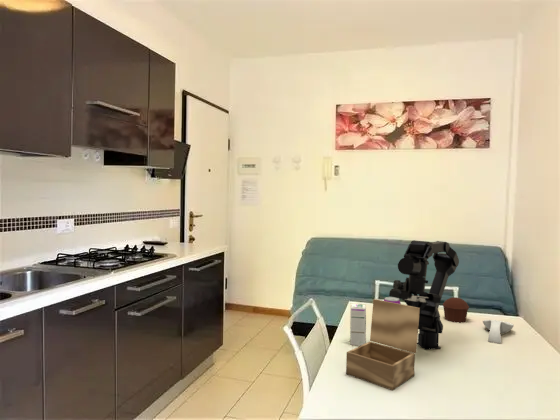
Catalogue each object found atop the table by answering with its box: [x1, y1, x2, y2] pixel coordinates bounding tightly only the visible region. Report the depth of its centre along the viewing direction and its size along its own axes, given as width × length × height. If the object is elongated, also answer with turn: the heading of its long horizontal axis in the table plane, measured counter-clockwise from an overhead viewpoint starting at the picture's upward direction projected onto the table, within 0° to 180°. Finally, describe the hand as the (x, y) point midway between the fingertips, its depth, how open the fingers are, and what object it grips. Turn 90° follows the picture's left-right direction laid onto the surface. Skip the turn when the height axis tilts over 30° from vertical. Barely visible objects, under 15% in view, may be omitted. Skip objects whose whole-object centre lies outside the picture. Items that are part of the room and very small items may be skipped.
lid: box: [369, 298, 420, 354], centre depth 141 cm, size 14×16×1 cm
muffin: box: [442, 297, 470, 324], centre depth 198 cm, size 12×11×10 cm
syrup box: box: [349, 303, 367, 347], centre depth 164 cm, size 6×6×14 cm
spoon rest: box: [482, 319, 514, 344], centre depth 177 cm, size 24×12×7 cm, turn 151°
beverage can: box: [383, 296, 402, 304], centre depth 186 cm, size 8×8×12 cm
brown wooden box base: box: [345, 341, 416, 391], centre depth 135 cm, size 14×16×7 cm
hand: (412, 320), depth 151 cm, fingers closed
